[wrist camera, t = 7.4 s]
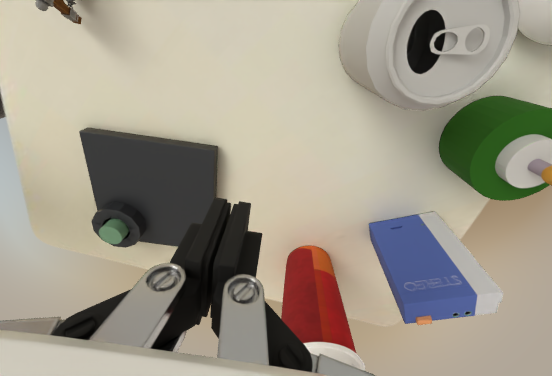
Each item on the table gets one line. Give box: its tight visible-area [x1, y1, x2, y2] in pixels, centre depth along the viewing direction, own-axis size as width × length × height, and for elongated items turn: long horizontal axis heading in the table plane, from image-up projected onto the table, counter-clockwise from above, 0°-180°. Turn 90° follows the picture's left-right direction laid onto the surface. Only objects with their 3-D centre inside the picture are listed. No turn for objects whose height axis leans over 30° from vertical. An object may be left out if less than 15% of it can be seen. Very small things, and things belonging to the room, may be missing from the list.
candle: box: [439, 96, 552, 200], centre depth 23 cm, size 8×8×10 cm
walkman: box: [369, 211, 503, 325], centre depth 28 cm, size 8×3×12 cm, turn 105°
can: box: [339, 0, 520, 111], centre depth 18 cm, size 8×8×12 cm
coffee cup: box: [281, 246, 365, 371], centre depth 30 cm, size 8×8×15 cm
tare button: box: [99, 219, 129, 244], centre depth 31 cm, size 3×3×2 cm
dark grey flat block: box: [79, 128, 218, 247], centre depth 31 cm, size 14×14×3 cm
